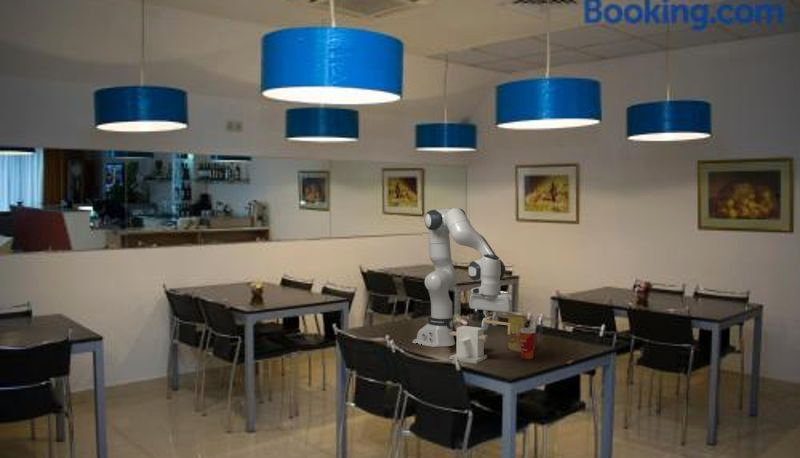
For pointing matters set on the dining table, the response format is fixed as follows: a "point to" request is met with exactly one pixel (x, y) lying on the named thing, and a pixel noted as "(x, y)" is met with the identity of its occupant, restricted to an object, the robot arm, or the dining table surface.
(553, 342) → the dining table surface
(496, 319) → the glasses
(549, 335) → the dining table surface
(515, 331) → the plant pot
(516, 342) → the pastry
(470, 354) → the white upright box
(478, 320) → the dining table surface
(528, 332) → the paper cup
